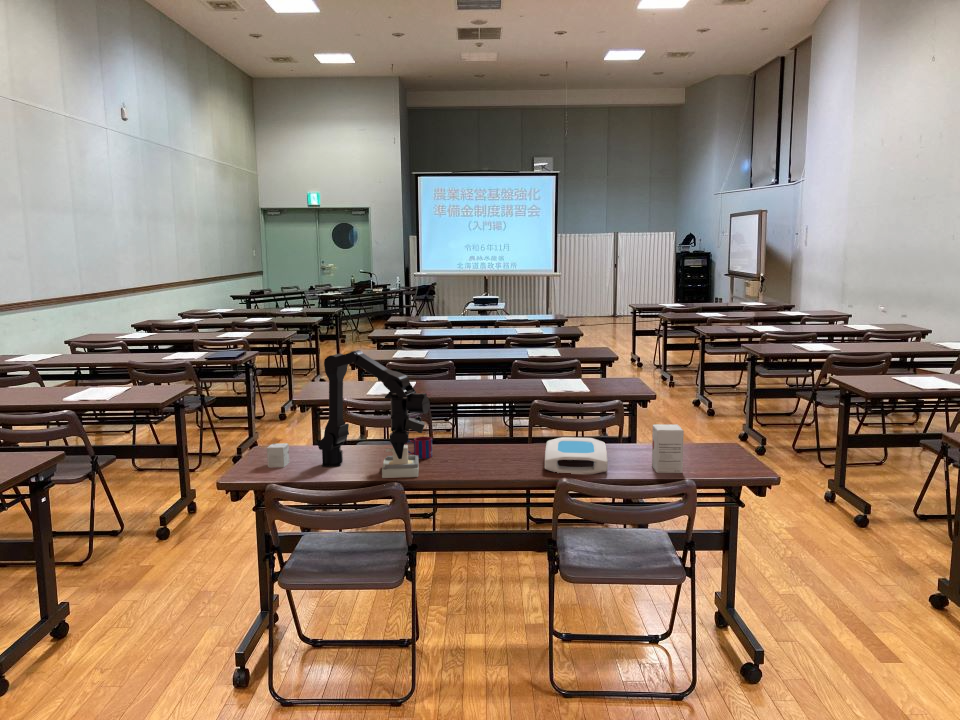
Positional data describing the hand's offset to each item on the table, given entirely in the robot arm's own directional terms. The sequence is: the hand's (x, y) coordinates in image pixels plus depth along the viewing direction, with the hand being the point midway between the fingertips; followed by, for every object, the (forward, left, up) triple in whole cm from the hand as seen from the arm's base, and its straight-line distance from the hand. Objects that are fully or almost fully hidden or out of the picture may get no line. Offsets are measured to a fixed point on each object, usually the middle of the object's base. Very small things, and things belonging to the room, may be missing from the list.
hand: (400, 456), depth 241 cm
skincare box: (-44, +13, -6) cm, 46 cm away
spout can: (-1, 0, -2) cm, 3 cm away
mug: (+6, +19, -6) cm, 21 cm away
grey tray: (0, 0, -5) cm, 5 cm away
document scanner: (+62, +4, -6) cm, 62 cm away
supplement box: (+91, -8, -6) cm, 92 cm away
